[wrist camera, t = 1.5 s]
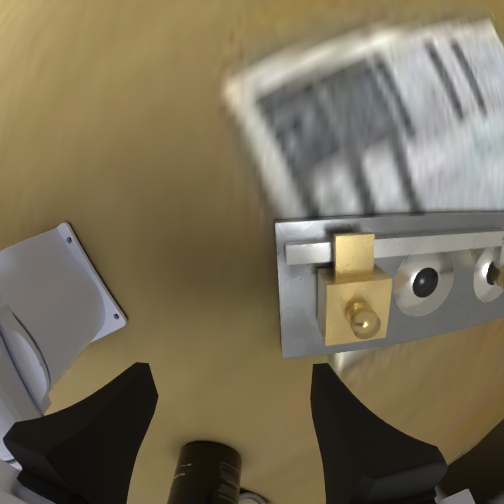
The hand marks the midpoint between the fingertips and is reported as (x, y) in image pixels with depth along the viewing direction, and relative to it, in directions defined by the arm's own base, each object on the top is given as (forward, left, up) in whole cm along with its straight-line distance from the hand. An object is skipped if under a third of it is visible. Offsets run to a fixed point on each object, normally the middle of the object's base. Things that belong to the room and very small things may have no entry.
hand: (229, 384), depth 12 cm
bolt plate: (+5, +12, -9) cm, 17 cm away
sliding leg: (+2, +7, -8) cm, 11 cm away
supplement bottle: (+16, -13, -10) cm, 23 cm away
